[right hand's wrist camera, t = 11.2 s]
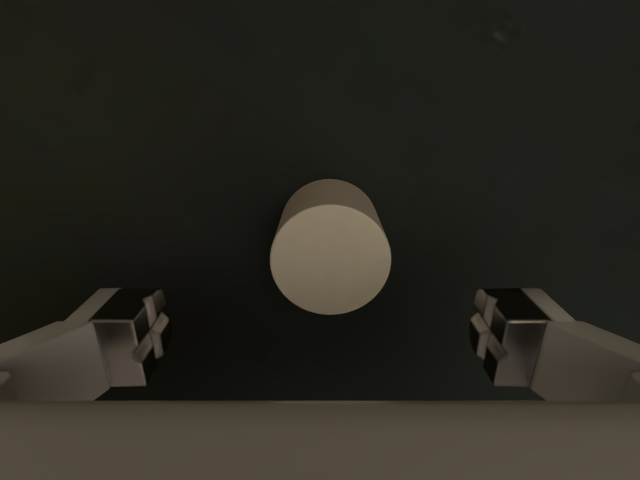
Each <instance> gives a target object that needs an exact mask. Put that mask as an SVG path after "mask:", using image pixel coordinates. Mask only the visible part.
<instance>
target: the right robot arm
mask: <svg viewBox="0 0 640 480" xmlns="http://www.w3.org/2000/svg"><path fill="white" fill-rule="evenodd" d="M166 305H167V302H166V297H165V293H164V292H163V291H162V289H140V288H102V289H99V290H98V291H97V292H95V293H94V294H93V295H92V296H91V297H90V298H89V299H88V300H87V301H86V302H84V303H83V304H82V305H81V306H80V307H79V308H78V309H77V310H76V311H75V312H74V313H72V314H71V315H70V316H69V317H68V318H67V319H66V320H65V321H57V322H54V323H52V324H49V325H47V326H44V327H42V328H39V329H37V330H34V331H32V332H30V333H27V334H25V335H22V336H20V337H17V338H15V339H12V340H10V341H7V342H5V343H2V344H0V480H640V344H638V343H635V342H633V341H630V340H628V339H625V338H623V337H620V336H618V335H615V334H613V333H610V332H608V331H605V330H603V329H600V328H598V327H596V326H593V325H591V324H588V323H586V322H583V321H575V320H574V319H573V318H572V317H571V316H570V315H569V314H568V313H567V312H565V311H564V310H563V309H562V308H561V307H560V306H559V305H558V304H557V303H556V302H554V301H553V300H552V299H551V298H550V297H549V296H548V295H547V294H546V293H545V292H544V291H542V290H541V289H539V288H503V289H479V290H477V292H476V294H475V297H474V302H473V305H474V306H475V308H476V310H477V311H478V312H477V313H476V314H475V315H474V316H473V317H472V318H471V320H470V327H469V335H470V342H471V345H472V348H473V350H474V352H475V354H476V355H477V356H479V357H480V358H482V359H484V364H483V368H484V369H485V371H486V373H487V374H488V376H489V378H490V380H491V381H492V383H493V385H494V386H518V387H530V389H532V390H533V391H534V392H536V393H537V394H538V395H540V396H541V397H542V398H544V399H545V400H546V401H94V400H95V399H96V398H98V397H99V396H100V395H102V394H103V393H105V392H106V391H107V390H109V389H110V387H122V386H146V385H147V383H148V381H149V380H150V378H151V376H152V374H153V373H154V371H155V369H156V368H157V364H156V359H158V358H160V357H161V356H163V355H164V354H165V352H166V350H167V348H168V345H169V341H170V337H171V326H170V319H169V318H168V317H167V316H166V315H165V314H164V313H163V312H162V311H163V310H164V308H165V306H166Z"/></svg>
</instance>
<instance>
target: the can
mask: <svg viewBox="0 0 640 480" xmlns="http://www.w3.org/2000/svg"><path fill="white" fill-rule="evenodd" d="M390 266H391V252H390V246H389V243H388V240H387V238H386V235H385V233H384V230H383V228H382V225H381V223H380V220H379V218H378V216H377V213H376V211H375V208H374V206H373V204H372V202H371V201H370V199H369V198H368V197H367V195H366V194H365V193H364V192H363V191H361V190H360V189H359V188H357V187H356V186H354V185H352V184H350V183H348V182H345V181H342V180H337V179H322V180H317V181H314V182H311V183H309V184H307V185H305V186H303V187H302V188H300V189H299V190H298V191H296V192H295V193H294V194H293V195H292V196H291V198H290V199H289V201H288V202H287V204H286V206H285V208H284V210H283V213H282V216H281V219H280V222H279V225H278V228H277V231H276V234H275V237H274V240H273V243H272V247H271V252H270V267H271V272H272V276H273V278H274V280H275V283H276V284H277V286H278V288H279V289H280V291H281V292H282V293H283V294H284V295H285V296H286V297H287V298H288V299H289V300H290V301H291V302H293V303H294V304H295V305H297V306H299V307H301V308H303V309H305V310H307V311H310V312H314V313H318V314H327V315H333V314H342V313H347V312H350V311H353V310H356V309H358V308H360V307H362V306H363V305H365V304H367V303H368V302H369V301H371V300H372V299H373V298H374V297H375V296H376V295H377V294H378V293H379V291H380V290H381V289H382V287H383V286H384V284H385V282H386V280H387V278H388V275H389V271H390Z"/></svg>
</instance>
